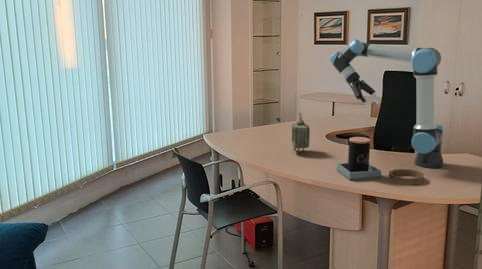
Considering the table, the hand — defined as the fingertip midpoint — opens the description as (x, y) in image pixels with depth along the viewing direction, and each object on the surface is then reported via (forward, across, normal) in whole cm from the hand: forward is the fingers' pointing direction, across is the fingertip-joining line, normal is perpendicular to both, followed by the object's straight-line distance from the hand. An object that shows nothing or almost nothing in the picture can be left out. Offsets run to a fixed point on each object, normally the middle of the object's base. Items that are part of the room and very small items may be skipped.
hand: (374, 104), depth 262 cm
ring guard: (+42, +15, -6) cm, 45 cm away
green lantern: (-8, +4, -56) cm, 56 cm away
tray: (+26, +22, -22) cm, 40 cm away
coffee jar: (+25, +22, -22) cm, 40 cm away
